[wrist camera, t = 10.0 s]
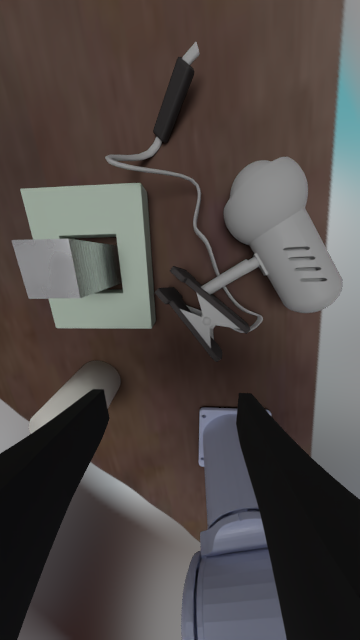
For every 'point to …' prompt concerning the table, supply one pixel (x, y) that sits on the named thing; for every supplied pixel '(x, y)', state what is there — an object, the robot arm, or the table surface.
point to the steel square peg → (66, 267)
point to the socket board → (100, 221)
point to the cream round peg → (79, 391)
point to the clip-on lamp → (248, 232)
